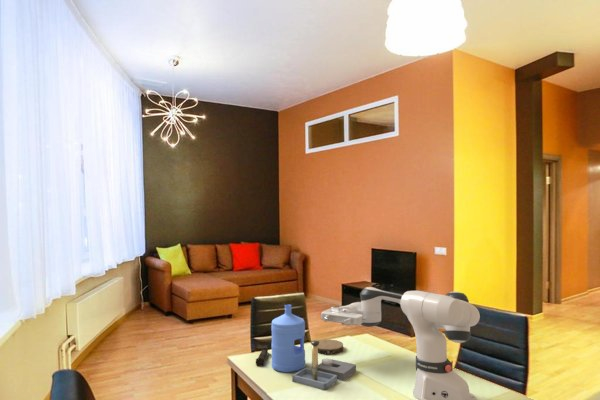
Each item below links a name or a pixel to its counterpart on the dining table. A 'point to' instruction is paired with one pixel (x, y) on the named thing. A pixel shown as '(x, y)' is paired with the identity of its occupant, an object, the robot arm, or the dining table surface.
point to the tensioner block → (337, 368)
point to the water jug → (288, 342)
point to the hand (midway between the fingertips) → (334, 321)
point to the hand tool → (262, 356)
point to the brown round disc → (330, 347)
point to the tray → (306, 378)
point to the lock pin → (315, 360)
